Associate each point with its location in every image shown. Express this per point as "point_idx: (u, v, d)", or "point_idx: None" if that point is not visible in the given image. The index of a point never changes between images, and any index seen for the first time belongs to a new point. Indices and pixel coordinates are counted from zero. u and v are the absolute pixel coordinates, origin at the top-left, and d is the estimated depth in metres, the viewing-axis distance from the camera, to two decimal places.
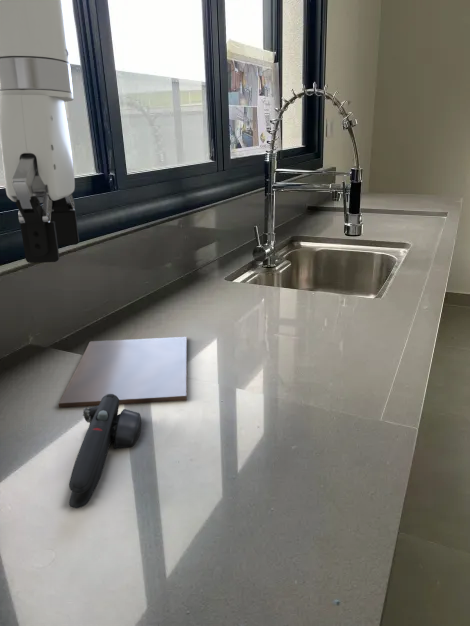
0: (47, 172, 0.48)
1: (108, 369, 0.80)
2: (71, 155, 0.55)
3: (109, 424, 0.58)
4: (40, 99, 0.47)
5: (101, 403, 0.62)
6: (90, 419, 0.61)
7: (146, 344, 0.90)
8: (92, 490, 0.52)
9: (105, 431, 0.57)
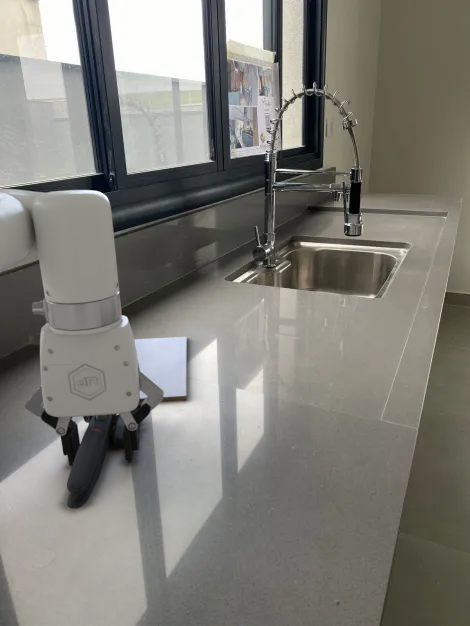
0: None
1: None
2: None
3: (108, 424, 0.58)
4: None
5: None
6: (89, 419, 0.61)
7: (146, 344, 0.90)
8: (90, 491, 0.52)
9: (103, 431, 0.57)
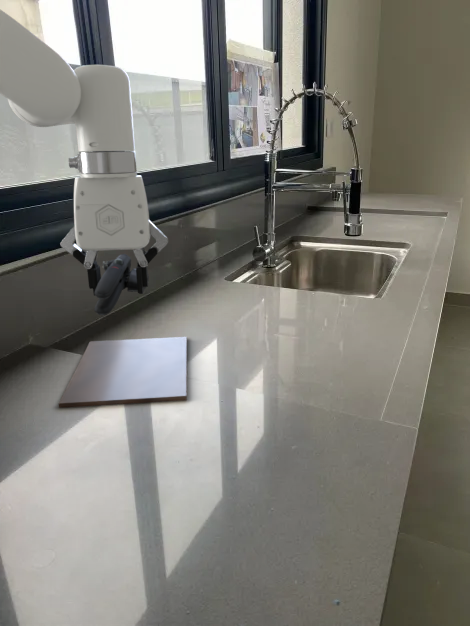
0: None
1: (108, 369, 0.80)
2: None
3: (124, 267, 0.74)
4: None
5: (117, 257, 0.78)
6: None
7: (146, 344, 0.90)
8: (111, 304, 0.68)
9: (120, 269, 0.72)
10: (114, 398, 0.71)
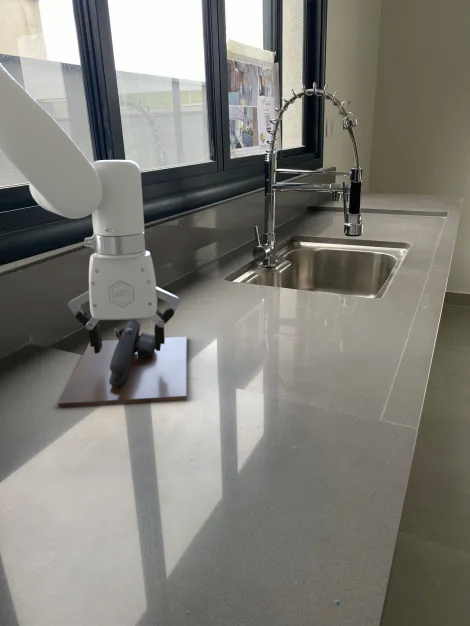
0: None
1: (108, 369, 0.80)
2: None
3: (134, 337, 0.82)
4: None
5: (127, 325, 0.85)
6: (119, 336, 0.85)
7: None
8: (124, 375, 0.76)
9: (131, 340, 0.80)
10: (114, 398, 0.71)
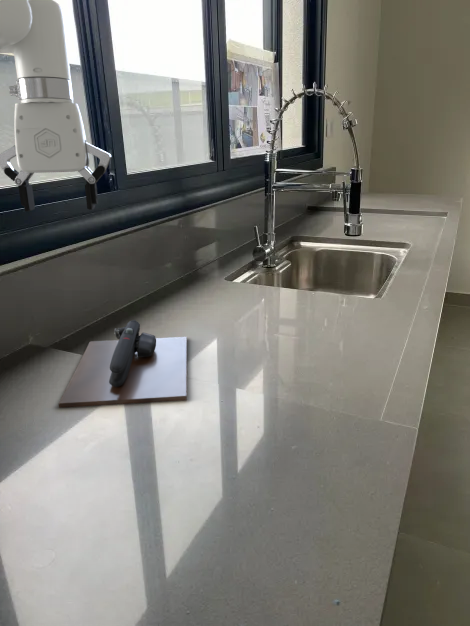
0: None
1: (108, 369, 0.80)
2: None
3: (134, 337, 0.82)
4: None
5: (127, 325, 0.85)
6: (119, 336, 0.85)
7: None
8: (124, 375, 0.76)
9: (131, 340, 0.80)
10: (114, 398, 0.71)
